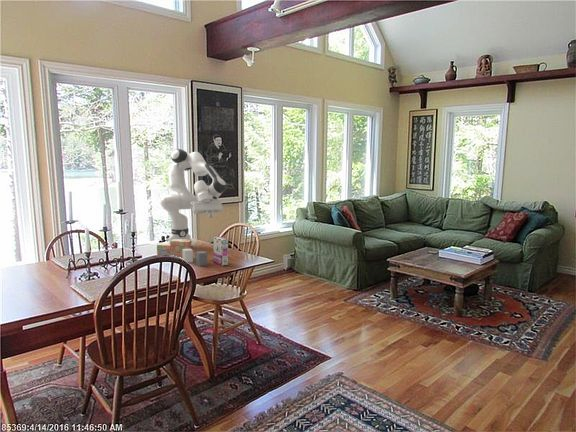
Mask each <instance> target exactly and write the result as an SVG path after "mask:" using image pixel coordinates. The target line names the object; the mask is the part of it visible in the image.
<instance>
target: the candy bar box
mask: <svg viewBox="0 0 576 432" xmlns="http://www.w3.org/2000/svg"><path fill="white" fill-rule="evenodd" d="M213 263H214V264H215V265H219V266H221V267H225V266H229V239H228V238H225V237H222V236H215V237H213Z"/></svg>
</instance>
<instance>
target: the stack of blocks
mask: <svg viewBox="0 0 576 432" xmlns="http://www.w3.org/2000/svg"><path fill="white" fill-rule="evenodd" d="M192 245H193V244H192V239H191V240H186V239H173V240H171V241H170V244H169V242H166V243H165V242H159V243H158V244H157V245H156V255H174V256H177V257H181V258H183V255H182V249H189V248H190V249H192V250H193V248H192V247H193V246H192Z"/></svg>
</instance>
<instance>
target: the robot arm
mask: <svg viewBox="0 0 576 432" xmlns="http://www.w3.org/2000/svg"><path fill="white" fill-rule="evenodd" d="M170 159H171V160H172V162H174V163H172V164H170V165H169V167H168V181H169V182H168V183H169V188H170V190H172V191H173V192H175V194H166V195H163V196H162V197H161V199H160V206H161V207H162V209H164V210H165V211H166V212H167V214H169V216H170V218H171V227H172V228H171V232H170V235H169V237H168V238H166V243H169V244H170V241H171V240H173V239H186V240H192V239H191V234H189V219H188V217H187V215H185V214H183V213H180V211H181V210H192V212H193V213H194V214H205V215H206V217H208V218H213V217H214V213H222V212H223V210H224V205H223V204H222V202H221V201H220V199H219V197H220V196H221V195H222V194H223V193H224V192H225V191H226V190H227V182H226V181H225V180H224V178H222V177H221V175H220V174H219V173H218V172H217V170H216V169H215V168H214V167H213V166H212V165H211V163H207V162H206V160H205V159H204V157H203V155H202V154H201V152H198V151H192V152H190V153H189V152H188V151H185V149H181V148H175V149H173V150H172V151H171V154H170ZM189 170H192V172H193V174H194V175H196V176H197V177H204V176H207V175H208V176H209V177H210V178H211V179H212V182H211V183H210V185H208V184H206V182H205V180H203V179H200V180H197V181H196V182H195V183H194V184H193V189H194V193H195V194H193V193H192V192H191V191H190V190H189V189H188V188H187V185H186V179H185V172H188V171H189ZM176 193H177V194H176ZM193 246H194V244H192V247H193Z"/></svg>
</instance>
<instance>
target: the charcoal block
mask: <svg viewBox="0 0 576 432" xmlns="http://www.w3.org/2000/svg"><path fill="white" fill-rule="evenodd" d="M195 253H196V254H195V257H196V258H195V261H196V262H195V263H196V266H198V267H204V266H208V253H207V251H205V250H200V251H199V250H198V251H195Z"/></svg>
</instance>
